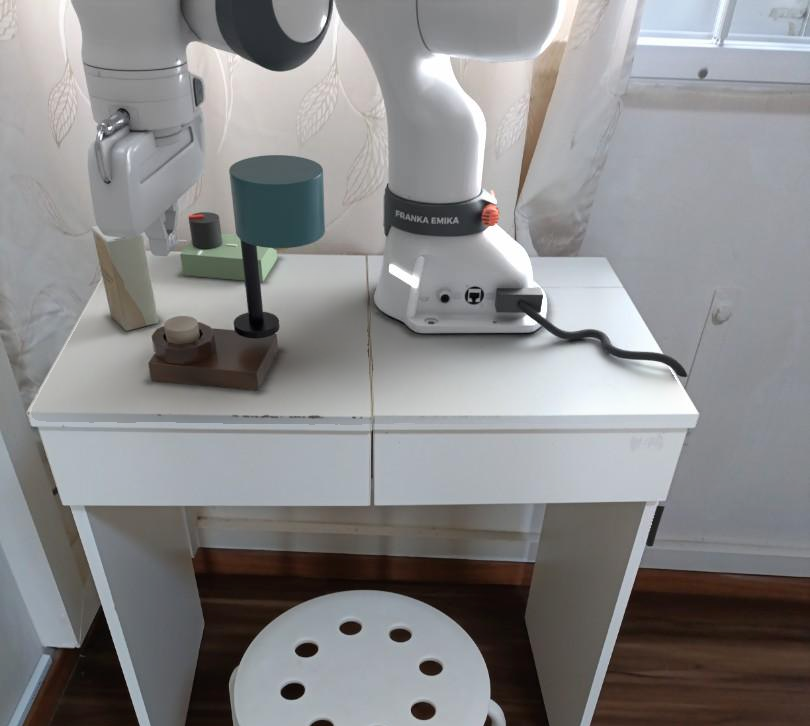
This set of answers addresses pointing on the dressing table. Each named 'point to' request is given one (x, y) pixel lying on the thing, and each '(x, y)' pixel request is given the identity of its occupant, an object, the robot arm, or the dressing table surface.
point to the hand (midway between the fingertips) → (165, 250)
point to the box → (126, 279)
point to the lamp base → (213, 359)
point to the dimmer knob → (205, 230)
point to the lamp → (273, 221)
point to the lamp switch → (181, 330)
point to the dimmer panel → (223, 260)
